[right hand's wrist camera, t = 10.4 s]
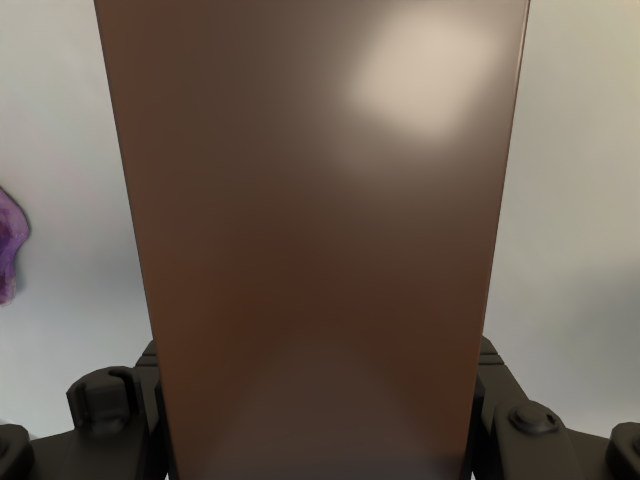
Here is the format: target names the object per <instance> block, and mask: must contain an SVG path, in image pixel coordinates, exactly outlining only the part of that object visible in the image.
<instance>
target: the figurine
mask: <svg viewBox="0 0 640 480" xmlns="http://www.w3.org/2000/svg"><path fill="white" fill-rule="evenodd" d="M27 236H28V225H27V222H26V219H25V215H24V213H23V212H22V210H21V208H20V207H18V206H17V205H16V204H15V203H14V202H13V201H12V200H11V199H10V198H9V197H8V196H7V195H6V194H5V193H4V192H3V191H2V190H1V189H0V307H3V306H7V305H9V304H11V302H12V301H13V300H14V298H15V295H16V289H17V285H16V275H15V269H14V258H15V254H16V251H17V249H18V248H19V246H20V245H21V244H22V243H23V242H24V241H25V240H26V239H27Z"/></svg>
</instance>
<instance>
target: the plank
mask: <svg viewBox="0 0 640 480" xmlns="http://www.w3.org/2000/svg"><path fill="white" fill-rule="evenodd" d="M94 5H95V11H96V16H97V22H98V28H99V33H100V39H101V45H102V51H103V56H104V62H105V68H106V73H107V79H108V85H109V90H110V96H111V102H112V108H113V113H114V119H115V125H116V130H117V136H118V142H119V147H120V153H121V159H122V164H123V170H124V176H125V182H126V187H127V193H128V199H129V204H130V210H131V216H132V221H133V227H134V233H135V239H136V244H137V250H138V256H139V261H140V267H141V273H142V278H143V284H144V290H145V295H146V301H147V307H148V313H149V318H150V324H151V330H152V335H153V341H154V347H155V352H156V358H157V364H158V370H159V375H160V381H161V387H162V392H163V398H164V404H165V409H166V415H167V421H168V427H169V432H170V438H171V444H172V449H173V455H174V461H175V466H176V472H177V478H178V480H461V479H462V472H463V465H464V458H465V451H466V444H467V437H468V430H469V423H470V416H471V409H472V403H473V396H474V389H475V382H476V375H477V368H478V361H479V354H480V347H481V340H482V333H483V326H484V319H485V312H486V305H487V298H488V292H489V285H490V278H491V271H492V264H493V257H494V250H495V243H496V236H497V229H498V222H499V215H500V208H501V201H502V194H503V187H504V181H505V174H506V167H507V160H508V153H509V146H510V139H511V132H512V125H513V118H514V111H515V104H516V97H517V90H518V83H519V77H520V70H521V63H522V56H523V49H524V42H525V35H526V28H527V21H528V14H529V7H530V0H94Z"/></svg>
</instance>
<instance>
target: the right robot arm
mask: <svg viewBox="0 0 640 480" xmlns="http://www.w3.org/2000/svg"><path fill="white" fill-rule="evenodd" d="M66 395H67V399H68V403H69V407H70V411H71V415H72V419H73V423H74V427H75V428H74V430H71V431H68V432H65V433H61V434H57V435H53V436H49V437H44V438H40V439H36V440H30V437H29V434H28V431H27V430H26V429H25V428H24V427H23V426H21V425H15V424H5V425H0V480H165V478H166V475H167V473H168V477H169V480H178V478H177V472H176V466H175V461H174V455H173V449H172V444H171V438H170V432H169V427H168V421H167V415H166V409H165V404H164V398H163V392H162V387H161V381H160V375H159V370H158V364H157V358H156V352H155V347H154V341H153V340H152V341H151V342H150V343H149V345H148V346H147V348H146V349H145V351H144V352H143V354H142V356H141V357H140V358H139V360H138V361H137V363H136V366H135V367H133V368H129V367H125V366H111V367H107V368H103V369H99V370H96V371H93V372H91V373H89V374H87V375H85V376H83V377H82V378H80V379H79V380H78V381H76V382H75V383H73V384H72V386H71V387H70V388H69V390H68V391H67V392H66ZM472 471H473V474H474V476H475V479H476V480H640V423H634V422H626V423H620V424H618V425H617V426H616V427H614V428H613V429H612V432H611V436H610V439H607V438H603V437H599V436H595V435H590V434H586V433H582V432H577V431H574V430H571V429H568V428H566V427H565V425H564V424H563V422H562V421H561V419H560V418H559V417H558V416H557V415H556V414H555V413H554V412H552V411H551V410H550V409H549V408H547V407H545V406H543V405H541V404H539V403H537V402H535V401H531V400H529V399H528V397H527V396H526V394H525V393H524V391H523V390H522V388H521V387H520V385H519V384H518V382H517V381H516V379H515V378H514V376H513V375H512V373H511V372H510V370H509V369H508V367H507V366H506V365H504V361H503V360H502V358H501V357H500V355H498V352H497V351H496V349H495V348H494V346H493V345H492V343H491V342H490V340H488V339H487V338H485V337H484V336H483V335H482V340H481V347H480V354H479V361H478V368H477V375H476V382H475V389H474V396H473V403H472V409H471V416H470V423H469V430H468V437H467V444H466V451H465V458H464V465H463V472H462V479H461V480H471V475H472Z"/></svg>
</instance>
